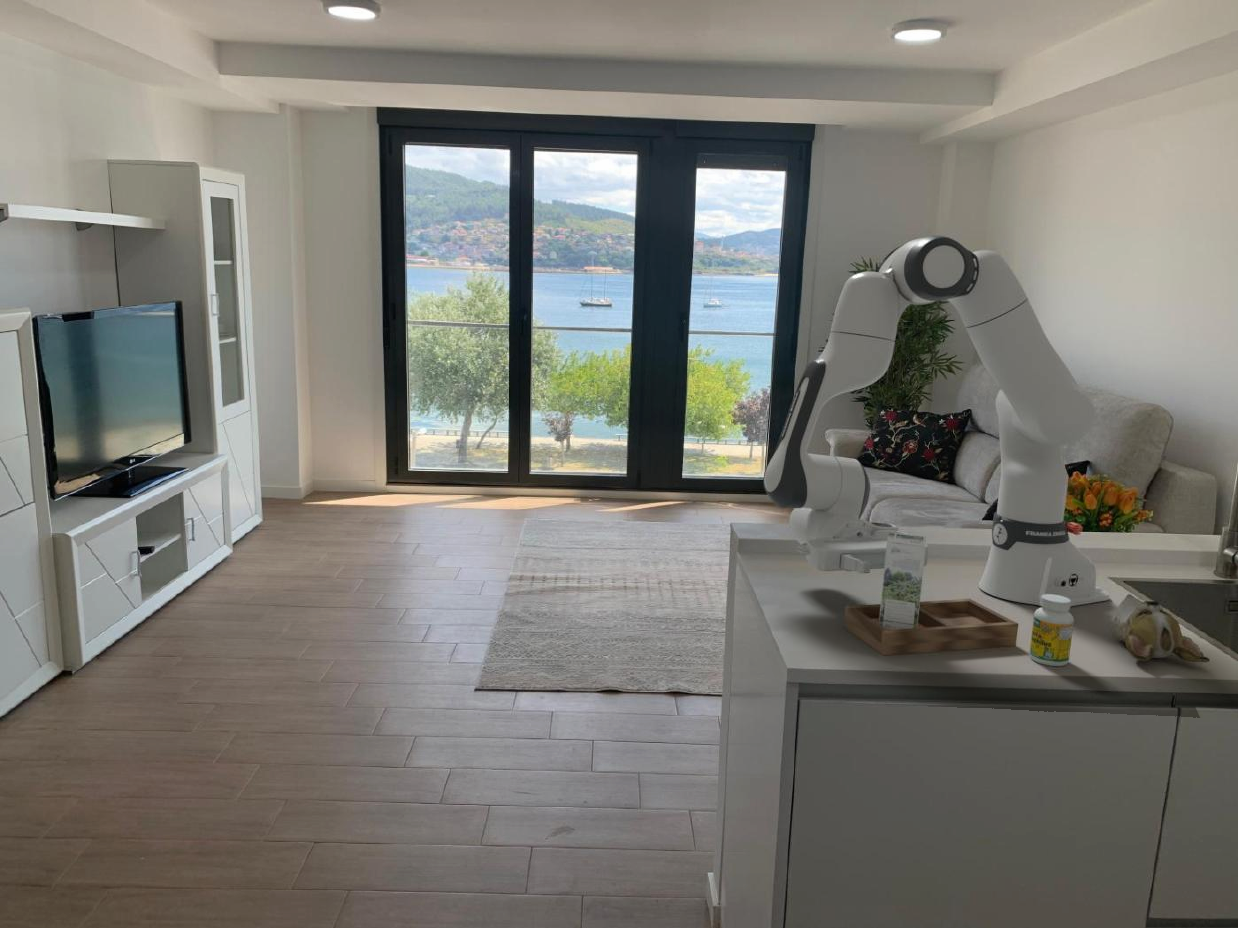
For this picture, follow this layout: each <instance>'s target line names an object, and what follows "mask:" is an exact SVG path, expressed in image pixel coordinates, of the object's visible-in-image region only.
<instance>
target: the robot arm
mask: <svg viewBox="0 0 1238 928" xmlns="http://www.w3.org/2000/svg"><path fill="white" fill-rule="evenodd" d="M946 300H947V301H948V302H949V303H950V304H952V306H953V307H954V308H955V309H956V311H957V312H958V315H959V317H960V319H961V322H962V324H963V326H964V328H965V331H966V332H967V334H968V336H969V338H970V341H971V342H972V344H973V347H974V349H975V351H976V353H977V355H978V357H979V359H980V361H981V363H982V365H983V367H984V368H985V369H986V370H987V372H988V373H989V374H990V375H991V377H992V378H993V380H994V382H996V384H997V385H998V387H999V388H1000V389H999V391H998V393H997V395H996V398H995V411H996V414H997V419H998V433H999V434H998V435H999V436H998V437H999V450H1000V481H999V490H998V499H997V507H996V511H995V512H994V513H993V521H992V527H991V539H992V542H991V547H990V550H989V554H988V558H987V561H986V565H985V568H984V571H983V574H982V575H981V576H982V577H981V578H980V581H979V583H978V588H979V589H980V590H981V591H983V592H985V593H987V594H988V595H991V596H994V597H996V598H1000V599H1004V600H1007V601H1011V602H1016V603H1020V604H1021V603H1023V604H1029V605H1036V606H1039V607H1042V606H1041V604H1040V601H1041V596H1042V595H1045V594H1053V595H1060V596H1064V597H1066V598H1068V599H1070V600H1071V604H1070V607H1075V606H1081V605H1087V604H1093V603H1098V602H1104V601H1105V602H1106V601H1108V600H1110V594H1109V593H1108V592H1107V591H1106V590H1105V589H1103V588H1101V587H1099V586H1097V570H1096V566H1095V563H1094V562H1093V561H1092V560H1091V559H1090V558H1089V557H1088V556H1087V555H1085V554H1084V553H1083V552H1082V551H1081V550H1080V549H1079V548H1078V547H1076V546H1075V544H1073V543H1072V541H1070V535H1069V533H1070V534H1073V535H1075V536H1079V535H1081V533H1082V532H1083V526H1082V524H1080V523H1076V522H1074V521H1071V522H1070V521H1069V522H1067V521H1066V520H1065V519H1064V516H1065V509H1066V500H1067V494H1068V486H1069V485H1068V483H1069V475H1068V471H1067V469H1066V466H1065V465H1066V464H1065V461H1064V450H1063V447H1068V446H1072V445H1076V444H1077V443H1080V442H1082V441H1083V440H1085V438H1086V437H1088V436H1089V435H1090V433H1091V432H1092V430H1093V429H1094V426H1095V423H1096V416H1097V415H1096V414H1097V413H1096V408H1095V406H1094V403H1093V401H1092V400H1091V399H1090V398H1089V397H1088V395H1087V394H1086V393H1085V392H1084V391H1083V390H1082V388H1081V387H1080V385H1079V384H1078V383H1077V381H1076V379H1075V377H1074V376H1073V375H1072V373H1071V372H1070V370H1069V368H1068V367H1067V365H1066V364H1065V362H1064V361H1063V360H1062V358H1061V357H1060V355H1059V354H1058V353H1057V351H1056V350H1055V348H1054V346H1053V345H1052V344H1051V342H1050V340H1049V338H1048V336H1047V335H1046V334H1045V331H1044V330H1043V327H1042V325H1041V322H1040V321H1039V319H1038V317H1037V314H1036V313H1035V310H1034V308H1033V306H1032V305H1031V302H1030V301H1029V298H1028V296H1027V294H1026V293H1025V290H1024V288H1023V286H1022V283H1020V281H1019V279H1018V278H1017V276H1016V275H1015V272H1014V271H1013V270H1012V269H1011V267H1010V266H1009V264H1008V262H1006V260H1005V259H1004V258H1003V257H1002V256H1001V255H1000V254H999V253H998V252H997V251H994V250H990V249H981V250H975V251H971V250H970V249H967V248H966V247H965V246H963V245H962V244H961V243H960V242H959V241H957V240H956V239H953V238H951V237H948V236H944V235H931V236H926V237H920V238H919V237H918V238H916V239H913V240H910V241H908V242H906V243H905V244H903V245H901V246H898V247H896V248H894V249H893V250H892V251H890V252H889V253H888V254H887V255H886V256H885V257H884V259H883V260H882V261H881V263H880V264H879V266H877V268H876V269H875V270H874V271H862V272H861V271H860V272H858V273H855V274H854V275H852V276H850V277H849V278H848V279H847V280H846V281H845V283H844V285H843V287H842V290H841V292H840V295H839V297H838V301H837V304H836V308H835V310H834V314H833V317H832V322H831V327H830V332H829V337H828V340H827V343H826V345H825V347H824V349H823V351H822V352H821V354H820V355H819V356H818V358H817V359H815V360H812V361H811V362H809V363H808V364H807V366H806V368H804V371H803V373H802V375H801V378H800V379H799V382H798V385H797V387H796V390H795V393H794V395H793V398H792V402H791V404H790V407H789V410H788V412H787V416H786V419H785V422H784V424H783V427H782V430H781V432H780V436H779V438H778V441H777V443H776V446H775V448H774V451H773V453H772V454H771V456H770V458H769V460H768V462H767V465H766V467H765V469H764V474H763V488H764V491H765V493H766V494H767V496H768V497H769V498H770V500H771V501H772V502H773V503H774V504H775V505H776V506H777V507H779V508H780V509H793V510H792V512H791V513H790V517H789V528H790V531H791V533H792V535H793V536H794V539H795V540H796V542H797V543H799V544H800V545H797V548H796V549H797V551H798V553H800V554H802V555H806V556H805V559H806V561H807V562H808V563H809V564H810V565H811V566H812V567H813V568H814V569H816V570H818V571H823V572H838V571H845V572H857V573H859V574H870V572H871V570H880V569H883V570H884V566H885V556H886V545H887V539H888V534H889V533H898V534H907V535H911V534H910V533H907V532H904V531H900V530H899V527H898V526H897V525H896V524H891V523H883V522H882V523H881V522H874V521H873V522H871V521H867V520H864V519H862V515H863V514H864V512H865V510H866V508H867V505H868V502H869V499H870V494H871V483H870V479H869V475H868V473H867V471H866V469H865V468H864V465H862V463H861V462H860V461H859V460H857V459H856V458H849V457H844V456H837V455H835V456H834V455H825V454H818V453H817V454H815V453H809V452H808V448H809V445H810V443H811V439H812V436H813V434H814V431H815V428H816V425H817V421H818V419H819V416H820V413H821V411H822V409H823V407H824V406H825V405H826V403H828V402H829V401H830V400H831V399H833V398H834V397H836V396H839V395H842V394H844V393H849V392H852V391H857V390H860V389H863V388H866V387H869V386H870V385H872V384H874V383H876V382H877V381H878V380H880V379H881V378H882V377H883V376H884V375H885V373H886V372H887V371H888V369H889V367H890V365H891V361H892V358H893V354H894V349H895V344H896V343H895V341H896V337H897V331H898V323H899V322H900V320H901V316H902V315H903V312H905V310H906V308H907V307H909V306H912V305H913V306H914V305H916V306H917V305H918V306H919V305H929V304H932V303H934V302H939V301H940V302H942V301H946ZM929 556H930V547H929V544H928V543H926V551H925V560H924V567H926V566H927V565H928V562H929Z"/></svg>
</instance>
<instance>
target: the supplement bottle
mask: <svg viewBox="0 0 1238 928" xmlns="http://www.w3.org/2000/svg"><path fill="white" fill-rule="evenodd" d="M1040 604H1041V606H1040V607H1039V608H1037V609H1036V610H1035V611H1034V613H1033V621H1032V627H1031V628H1032V629H1031V638H1030V648H1029V657H1030V658H1031V659H1032V660H1033V661H1034V662H1036V663H1038V664H1042V665H1046V666H1050V667H1064V666H1067V664H1069V661H1070V653H1071V645H1072V639H1073V630H1074V623H1075V622H1074V620H1075V618H1074V616H1073V614H1072V613H1070V612H1069V611H1070V609H1071V606H1070V604H1071V600H1070V599H1068V598H1066V597H1064V596H1060V595H1053V594H1045V595H1042V596H1041V601H1040Z"/></svg>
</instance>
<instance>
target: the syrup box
mask: <svg viewBox="0 0 1238 928" xmlns="http://www.w3.org/2000/svg"><path fill="white" fill-rule="evenodd" d="M907 534H908V533H907ZM907 534H898V533H889V534H888V539H887V545H886V556H885V566H884V568H883V578H882V589H881V598H880V604H881V607H880V617H879V624H880V625H881V626H883V627H884V628H886V629H887V630H898V629H913V628H917V624H918V615H919V606H920V602H921V597H922V596H921V594H922V586H923V576H924V568H925V566H924V560H925V551H926V544H927V537H926V536H924V535H915V534H910V535H907Z"/></svg>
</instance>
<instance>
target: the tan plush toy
mask: <svg viewBox="0 0 1238 928" xmlns="http://www.w3.org/2000/svg"><path fill="white" fill-rule="evenodd" d="M1110 628H1111V632H1112V633H1113V636H1114V637H1115V638H1116V639H1117V640H1118V641H1120V642H1124V643H1125V646H1126V649H1127V651H1128V652H1129V654H1130V656H1131V657H1133V658H1134V659H1136V660H1138V661H1143V662H1145V661H1149V660H1151V659H1164V658H1169V657H1170V656H1172V655H1173V654H1174V655H1176V657H1178V658H1179V659H1180V660H1182V661H1185V662H1189V663H1190V662H1191V663H1210V661H1211V660H1210V658H1209V657H1207V656H1205V655H1204V654H1203V652H1202V650H1201V649H1200V647H1199V645H1198V644H1197V643H1196V642H1195V641H1193V639H1192V638H1191V637H1188V636H1186V635H1183V633H1182V629H1181V626H1180V623H1179V621H1178V620H1177V619H1176V618H1175V617H1173V615H1172V614H1170V613H1169V612H1166V611H1164V608H1163V606H1162V605H1161V604H1160V603H1159V602H1158V601H1155V600H1154V601H1153V600H1145V601H1142V600H1140V599H1139V598H1136V597H1135V596H1133V595H1132V594H1130V593H1128V594H1127V595H1126V596H1125V598H1124V599H1122V601H1121V602H1120V604H1119V605H1118V606H1117V608H1116V609H1115V611H1114V613H1113V615H1112V617H1111V618H1110Z"/></svg>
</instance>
